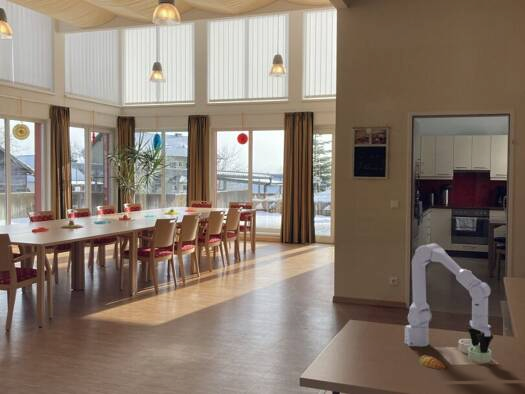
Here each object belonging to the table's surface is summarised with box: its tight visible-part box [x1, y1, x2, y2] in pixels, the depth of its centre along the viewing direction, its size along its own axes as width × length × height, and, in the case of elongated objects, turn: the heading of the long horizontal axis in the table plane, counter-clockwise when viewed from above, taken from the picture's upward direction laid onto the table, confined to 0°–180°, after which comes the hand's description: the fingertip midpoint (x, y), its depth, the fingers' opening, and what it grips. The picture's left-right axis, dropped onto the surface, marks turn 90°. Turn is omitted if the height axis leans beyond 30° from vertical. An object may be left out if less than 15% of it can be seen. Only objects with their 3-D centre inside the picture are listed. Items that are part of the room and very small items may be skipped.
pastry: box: [418, 354, 446, 370], centre depth 198 cm, size 9×7×4 cm
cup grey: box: [458, 338, 480, 354], centre depth 213 cm, size 8×8×4 cm
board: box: [433, 346, 499, 366], centre depth 208 cm, size 18×20×1 cm
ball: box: [473, 345, 481, 353], centre depth 204 cm, size 5×5×5 cm
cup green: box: [468, 347, 492, 363], centre depth 204 cm, size 8×8×4 cm
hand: (479, 348), depth 204 cm, fingers open, 7 cm apart
